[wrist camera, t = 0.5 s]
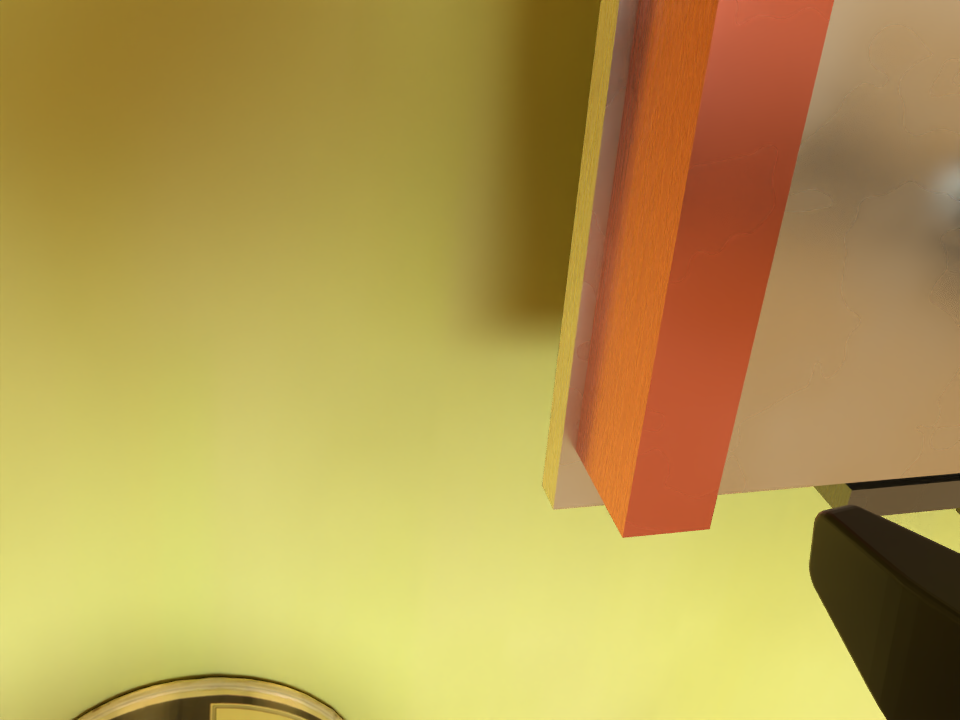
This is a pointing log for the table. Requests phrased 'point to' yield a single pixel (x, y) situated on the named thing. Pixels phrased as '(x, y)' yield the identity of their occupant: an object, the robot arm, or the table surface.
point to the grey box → (897, 494)
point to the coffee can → (214, 702)
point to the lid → (760, 256)
